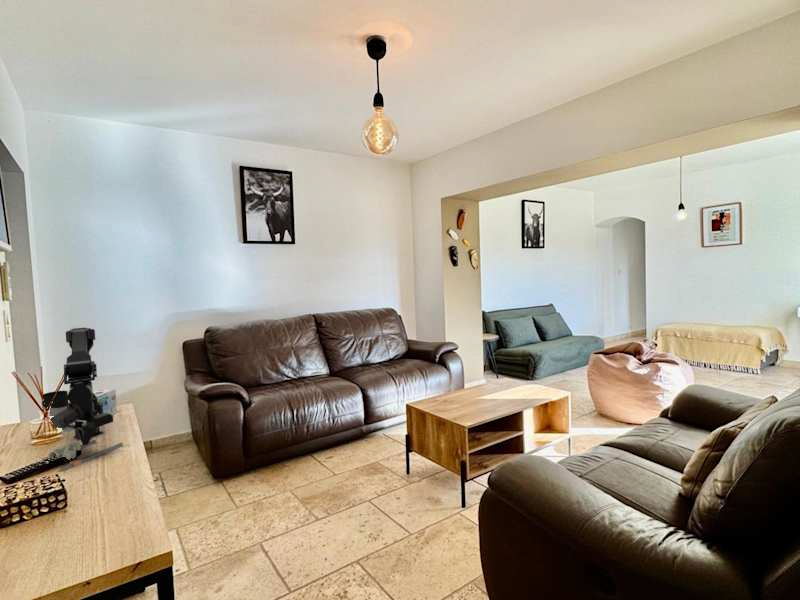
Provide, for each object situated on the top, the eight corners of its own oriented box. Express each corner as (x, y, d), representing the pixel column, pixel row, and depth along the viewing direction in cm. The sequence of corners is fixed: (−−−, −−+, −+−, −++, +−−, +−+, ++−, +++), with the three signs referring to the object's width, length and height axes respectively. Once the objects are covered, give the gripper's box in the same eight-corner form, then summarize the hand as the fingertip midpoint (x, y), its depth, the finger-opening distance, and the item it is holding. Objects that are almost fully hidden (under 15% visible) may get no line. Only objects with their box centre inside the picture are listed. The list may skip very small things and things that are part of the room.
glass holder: (49, 430, 158) (46, 391, 157) (93, 424, 162) (90, 387, 161) (37, 438, 149) (34, 397, 148) (83, 432, 153) (80, 393, 153)
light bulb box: (100, 421, 165) (98, 395, 165) (83, 422, 165) (81, 396, 164) (118, 413, 176) (116, 388, 175) (102, 413, 176) (100, 389, 175)
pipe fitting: (67, 452, 126) (48, 449, 127) (67, 464, 126) (47, 461, 127) (90, 442, 134) (71, 439, 135) (89, 453, 134) (71, 450, 135)
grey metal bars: (93, 443, 142) (93, 438, 142) (123, 446, 138) (123, 441, 138) (31, 468, 124) (30, 463, 124) (63, 472, 120) (63, 467, 120)
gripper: (33, 403, 128) (37, 452, 128) (77, 407, 122) (81, 457, 123) (70, 393, 138) (74, 438, 139) (112, 396, 133) (116, 443, 134)
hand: (85, 444), depth 133 cm, fingers closed
